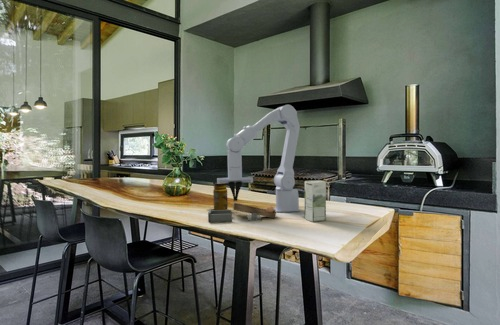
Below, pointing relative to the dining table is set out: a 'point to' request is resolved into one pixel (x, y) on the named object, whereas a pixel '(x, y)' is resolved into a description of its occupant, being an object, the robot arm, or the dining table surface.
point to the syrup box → (315, 200)
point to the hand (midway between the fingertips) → (235, 200)
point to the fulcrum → (254, 217)
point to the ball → (270, 209)
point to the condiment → (220, 197)
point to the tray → (219, 216)
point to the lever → (253, 210)
